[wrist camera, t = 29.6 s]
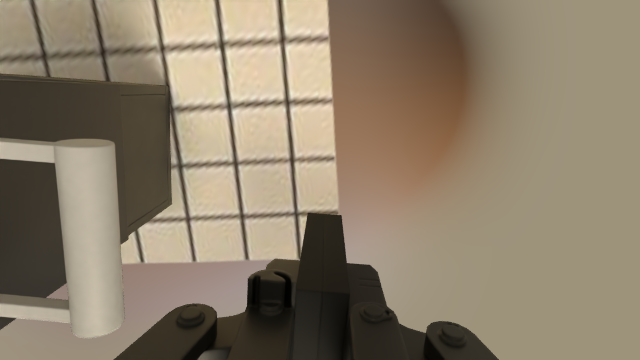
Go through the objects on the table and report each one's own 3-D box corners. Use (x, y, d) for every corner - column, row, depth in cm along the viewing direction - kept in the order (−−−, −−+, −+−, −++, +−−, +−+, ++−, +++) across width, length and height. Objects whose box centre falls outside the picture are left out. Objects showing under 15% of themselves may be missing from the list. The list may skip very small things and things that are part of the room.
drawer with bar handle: (-110, 392, 14) (87, 412, 14) (-188, 71, 11) (57, 90, 11) (119, 238, 29) (215, 246, 29) (110, 83, 26) (216, 91, 26)
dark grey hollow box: (32, 193, 38) (-53, 223, 30) (18, 74, 35) (-80, 69, 27) (171, 204, 38) (127, 236, 30) (169, 85, 35) (118, 84, 27)
